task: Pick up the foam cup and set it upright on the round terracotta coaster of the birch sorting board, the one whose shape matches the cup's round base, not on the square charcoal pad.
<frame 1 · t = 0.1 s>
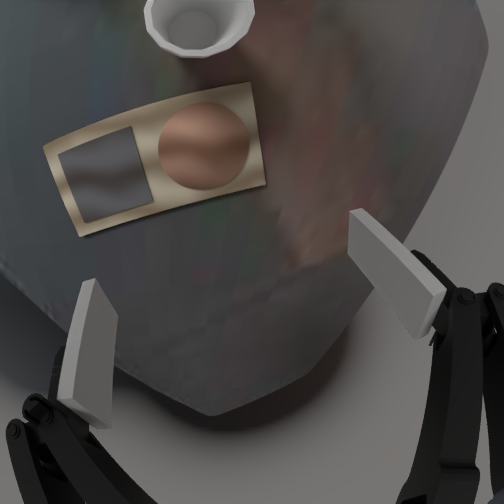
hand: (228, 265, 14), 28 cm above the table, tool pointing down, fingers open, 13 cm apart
sorting board: (153, 158, 36), on the table
foam cup: (192, 31, 28), on the table
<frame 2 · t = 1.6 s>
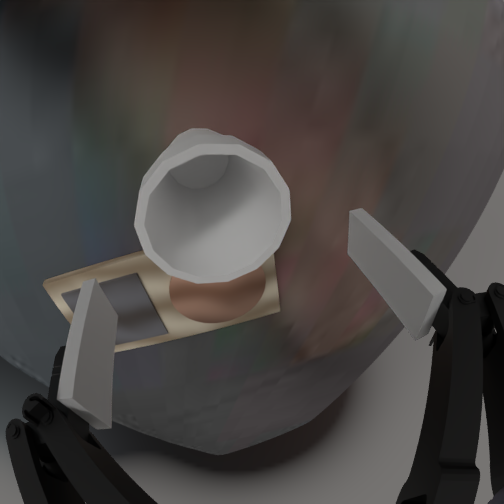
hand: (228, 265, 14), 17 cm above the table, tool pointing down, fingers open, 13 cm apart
sorting board: (164, 296, 36), on the table
foam cup: (197, 158, 27), on the table
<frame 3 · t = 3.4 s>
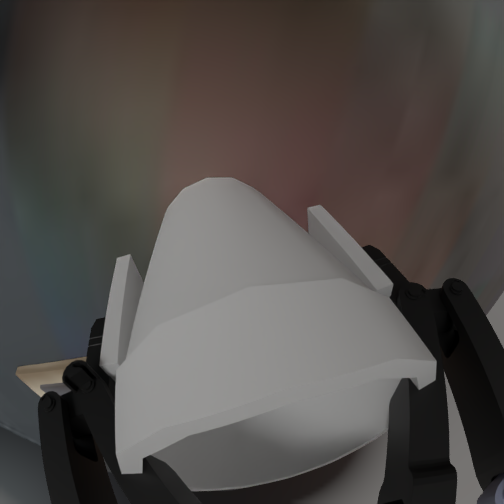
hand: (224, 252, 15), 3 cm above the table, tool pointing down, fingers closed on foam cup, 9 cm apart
sorting board: (171, 389, 26), on the table
foam cup: (216, 225, 17), on the table, touching gripper
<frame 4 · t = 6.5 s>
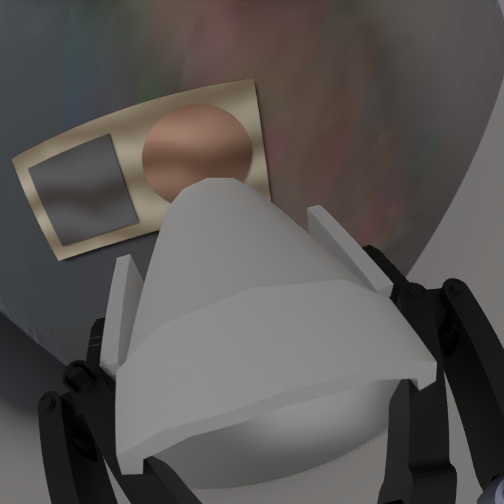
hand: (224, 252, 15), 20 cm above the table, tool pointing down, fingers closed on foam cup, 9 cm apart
sorting board: (137, 171, 30), on the table
foam cup: (216, 226, 17), point 17 cm above the table, touching gripper
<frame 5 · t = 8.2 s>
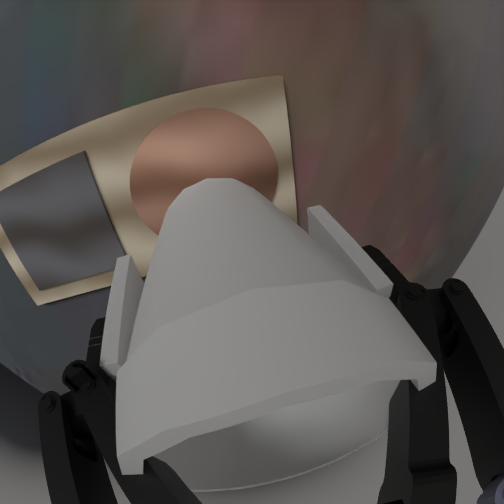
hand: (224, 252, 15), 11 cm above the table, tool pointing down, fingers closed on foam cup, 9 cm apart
sorting board: (124, 200, 23), on the table
foam cup: (216, 226, 17), point 8 cm above the table, touching gripper
when the fingers open (5 cm above the table, at t = 9.7 s): foam cup drops 1 cm, resting on sorting board.
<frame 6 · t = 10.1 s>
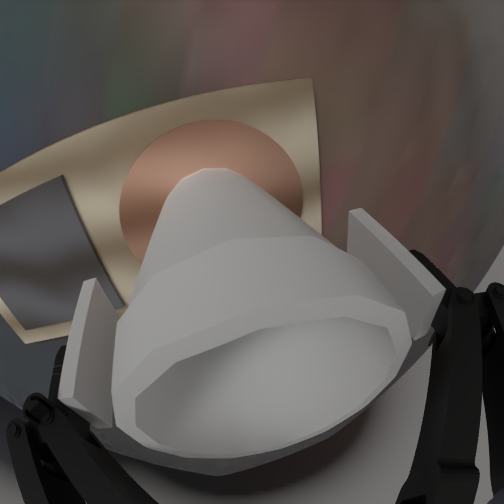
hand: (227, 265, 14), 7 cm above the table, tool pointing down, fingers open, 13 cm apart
sorting board: (115, 233, 19), on the table
foam cup: (212, 213, 18), point 1 cm above the table, touching sorting board
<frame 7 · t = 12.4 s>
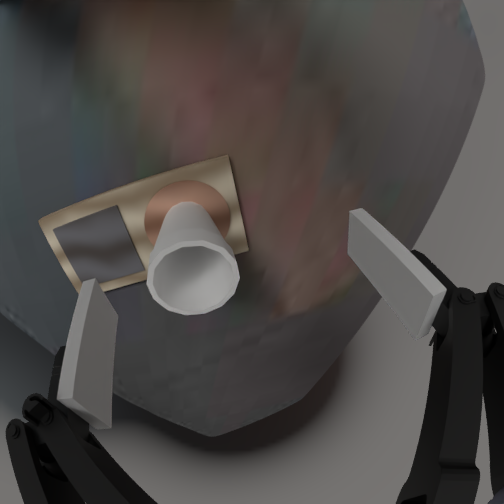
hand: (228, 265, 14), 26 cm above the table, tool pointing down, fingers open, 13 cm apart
sorting board: (141, 232, 40), on the table
foam cup: (187, 222, 40), point 1 cm above the table, touching sorting board
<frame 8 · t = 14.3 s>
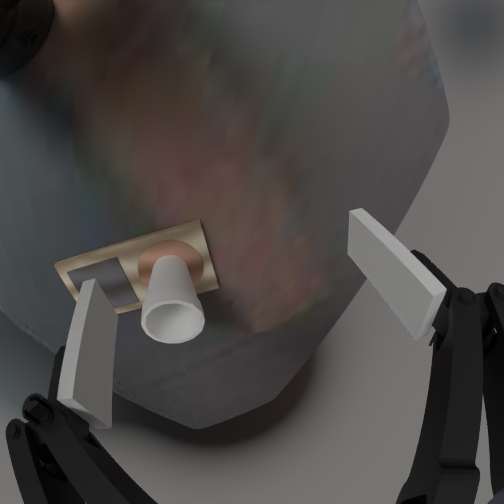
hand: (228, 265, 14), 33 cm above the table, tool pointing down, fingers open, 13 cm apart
sorting board: (135, 274, 51), on the table
foam cup: (170, 269, 51), point 1 cm above the table, touching sorting board
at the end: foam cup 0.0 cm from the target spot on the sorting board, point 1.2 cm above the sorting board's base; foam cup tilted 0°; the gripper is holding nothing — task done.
